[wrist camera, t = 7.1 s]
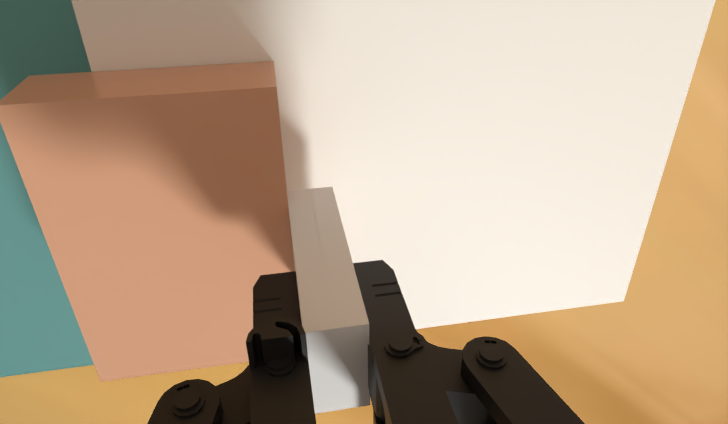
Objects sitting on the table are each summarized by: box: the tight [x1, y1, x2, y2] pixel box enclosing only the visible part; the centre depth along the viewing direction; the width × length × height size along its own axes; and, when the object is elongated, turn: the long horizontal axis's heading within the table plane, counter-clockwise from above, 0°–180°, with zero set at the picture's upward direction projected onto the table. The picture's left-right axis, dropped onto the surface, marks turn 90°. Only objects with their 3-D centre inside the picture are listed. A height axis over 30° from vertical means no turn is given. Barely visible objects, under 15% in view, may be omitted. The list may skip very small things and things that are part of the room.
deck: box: [72, 0, 715, 329], centre depth 21 cm, size 14×20×3 cm
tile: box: [0, 61, 295, 381], centre depth 18 cm, size 10×7×2 cm
